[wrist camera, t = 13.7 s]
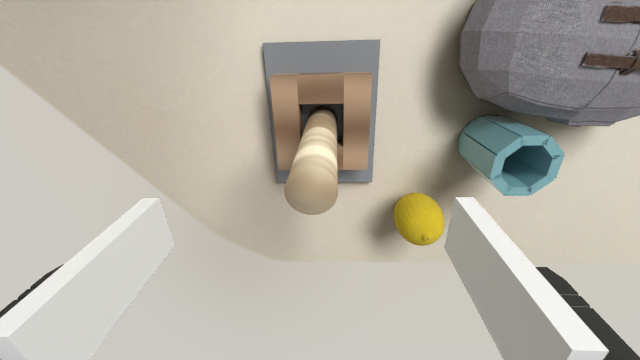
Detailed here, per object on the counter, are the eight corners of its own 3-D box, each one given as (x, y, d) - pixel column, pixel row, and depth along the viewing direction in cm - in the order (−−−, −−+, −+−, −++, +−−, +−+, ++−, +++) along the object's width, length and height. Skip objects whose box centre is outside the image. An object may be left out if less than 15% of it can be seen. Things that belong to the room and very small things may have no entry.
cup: (463, 115, 32) (500, 136, 25) (517, 114, 32) (571, 135, 24) (453, 164, 35) (485, 195, 27) (504, 163, 34) (549, 195, 27)
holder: (275, 73, 30) (269, 76, 27) (368, 71, 30) (372, 74, 27) (282, 160, 35) (278, 170, 32) (364, 159, 34) (367, 169, 31)
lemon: (388, 183, 36) (402, 218, 29) (432, 180, 36) (457, 215, 29) (388, 219, 39) (400, 260, 31) (429, 217, 38) (451, 257, 31)
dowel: (308, 105, 31) (282, 168, 16) (336, 105, 31) (337, 168, 16) (309, 133, 33) (286, 214, 18) (336, 133, 33) (337, 214, 18)
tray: (264, 43, 30) (262, 43, 29) (379, 39, 29) (380, 39, 28) (278, 179, 37) (277, 182, 36) (371, 179, 36) (371, 181, 35)
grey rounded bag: (695, -45, 25) (471, -61, 25) (847, -82, 18) (530, -105, 18) (608, 121, 32) (431, 107, 32) (693, 145, 24) (461, 127, 24)
